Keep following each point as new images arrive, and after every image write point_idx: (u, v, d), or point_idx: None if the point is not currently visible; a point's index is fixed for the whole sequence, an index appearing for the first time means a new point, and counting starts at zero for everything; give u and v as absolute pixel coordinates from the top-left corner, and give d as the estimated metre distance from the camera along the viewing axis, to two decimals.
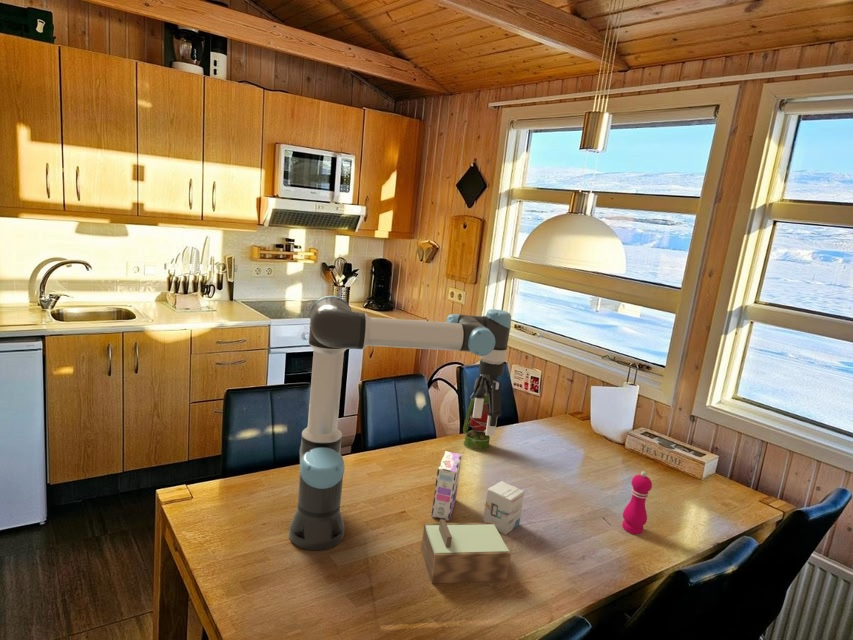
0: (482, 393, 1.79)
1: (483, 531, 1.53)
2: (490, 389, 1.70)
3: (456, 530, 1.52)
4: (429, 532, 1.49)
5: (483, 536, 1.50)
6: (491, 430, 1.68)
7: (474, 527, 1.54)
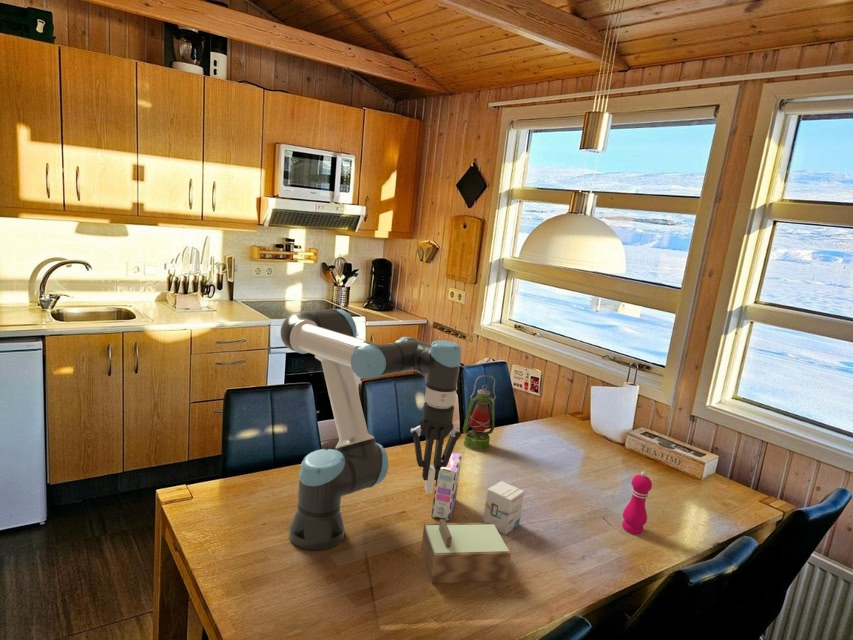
0: (435, 456, 1.41)
1: (483, 531, 1.53)
2: None
3: (456, 530, 1.52)
4: (429, 532, 1.49)
5: (483, 536, 1.50)
6: (426, 485, 1.43)
7: (474, 527, 1.54)
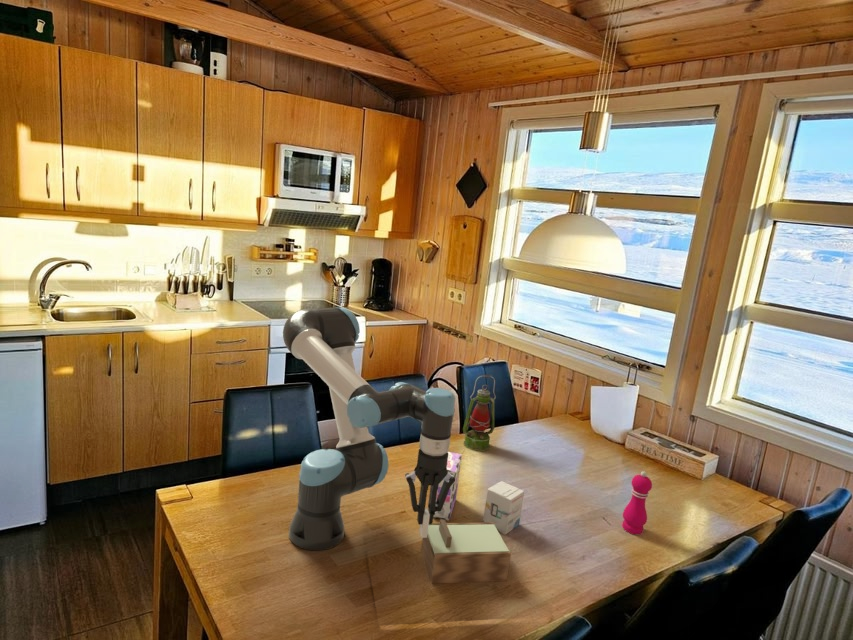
0: (430, 501, 1.44)
1: (483, 531, 1.53)
2: None
3: (456, 530, 1.52)
4: (429, 532, 1.49)
5: (483, 536, 1.50)
6: (421, 528, 1.45)
7: (474, 527, 1.54)
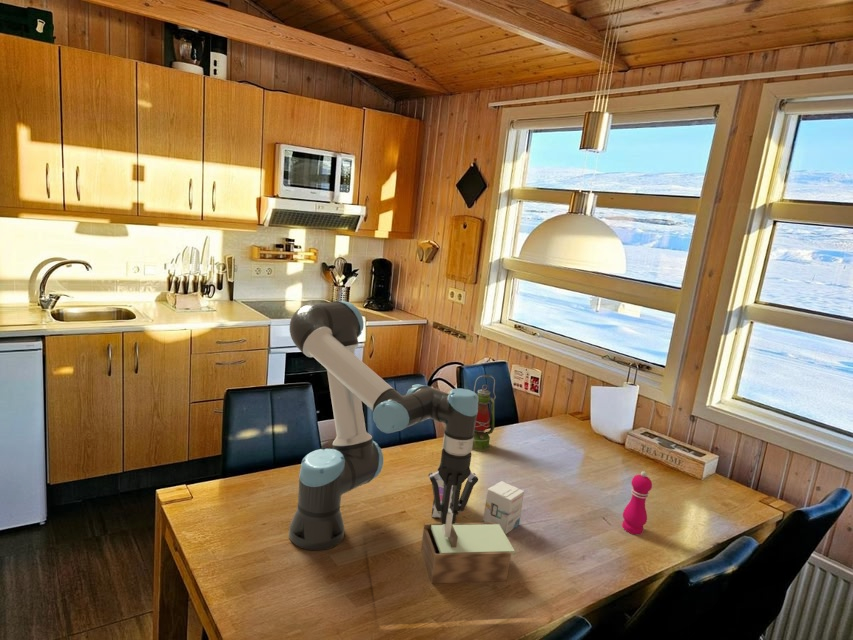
0: (453, 501, 1.45)
1: (488, 531, 1.53)
2: None
3: (462, 530, 1.52)
4: (435, 532, 1.50)
5: (489, 536, 1.51)
6: (444, 528, 1.46)
7: (479, 527, 1.54)
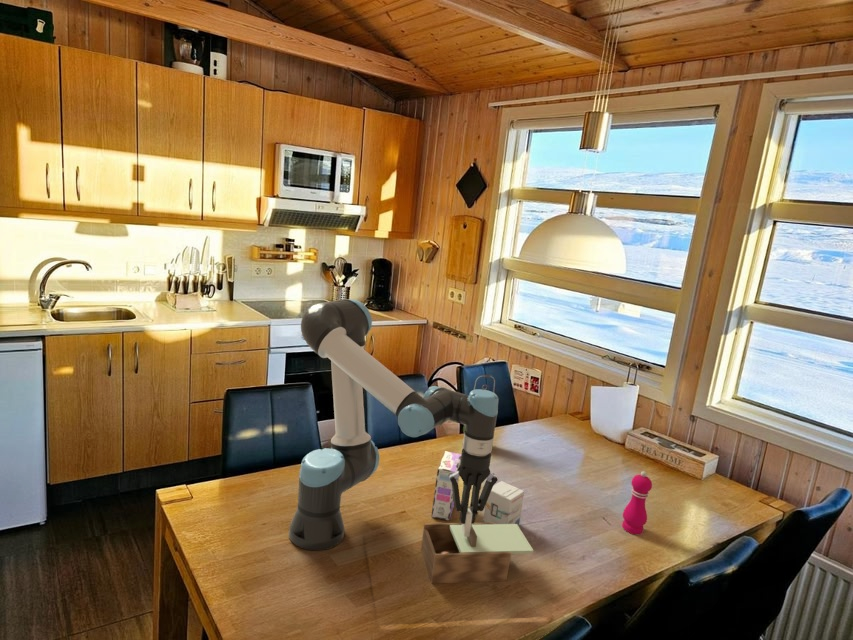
0: (472, 501, 1.46)
1: (506, 531, 1.54)
2: None
3: (480, 530, 1.53)
4: (454, 532, 1.51)
5: (507, 535, 1.52)
6: (463, 528, 1.47)
7: (497, 527, 1.55)
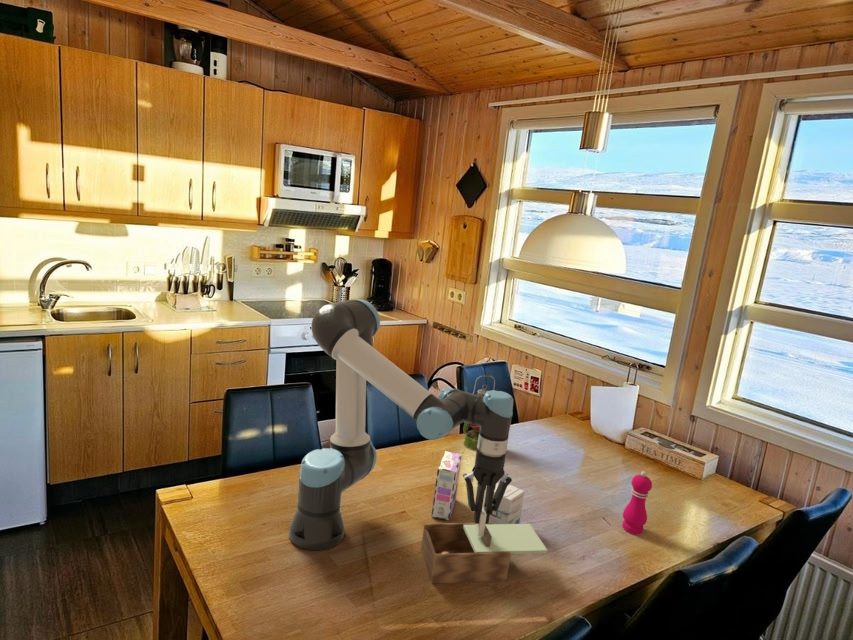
0: (486, 501, 1.47)
1: (520, 531, 1.55)
2: None
3: (494, 529, 1.54)
4: (468, 531, 1.52)
5: (521, 535, 1.53)
6: (477, 528, 1.48)
7: (510, 527, 1.56)
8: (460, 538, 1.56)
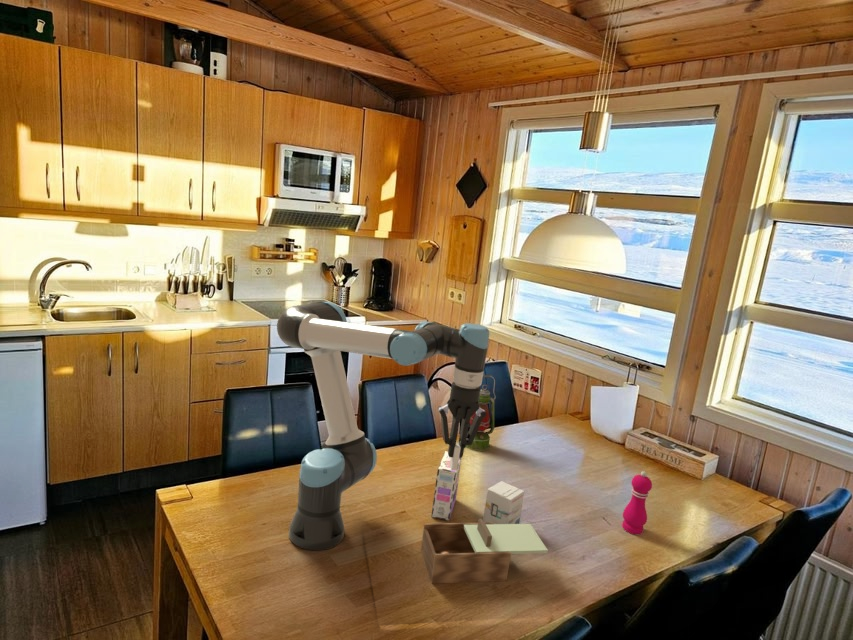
0: (461, 435, 1.47)
1: (520, 531, 1.55)
2: None
3: (494, 529, 1.54)
4: (468, 531, 1.52)
5: (521, 535, 1.53)
6: (451, 461, 1.49)
7: (511, 527, 1.56)
8: (460, 538, 1.56)
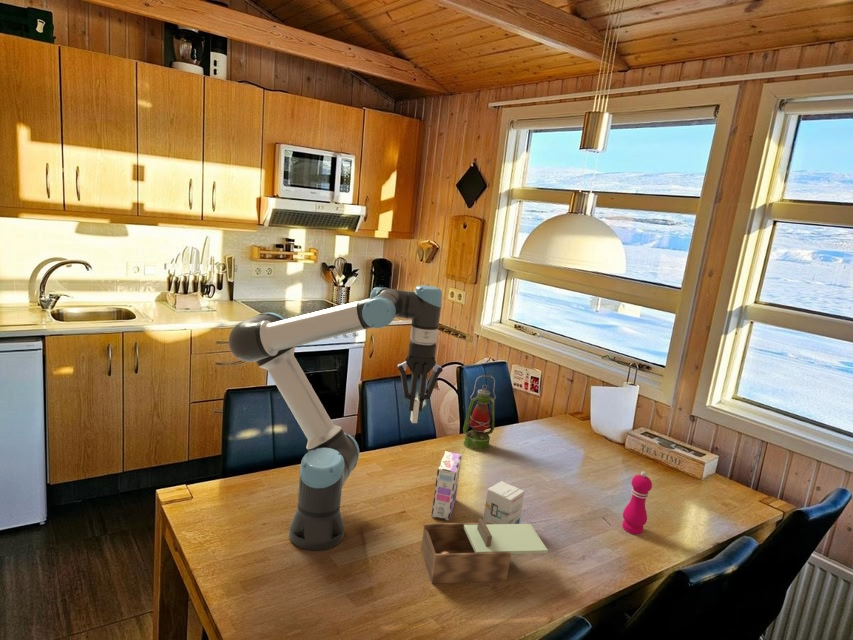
0: (420, 390, 1.59)
1: (520, 531, 1.55)
2: None
3: (494, 529, 1.54)
4: (468, 531, 1.52)
5: (521, 535, 1.53)
6: (411, 415, 1.60)
7: (511, 527, 1.56)
8: (460, 538, 1.56)
